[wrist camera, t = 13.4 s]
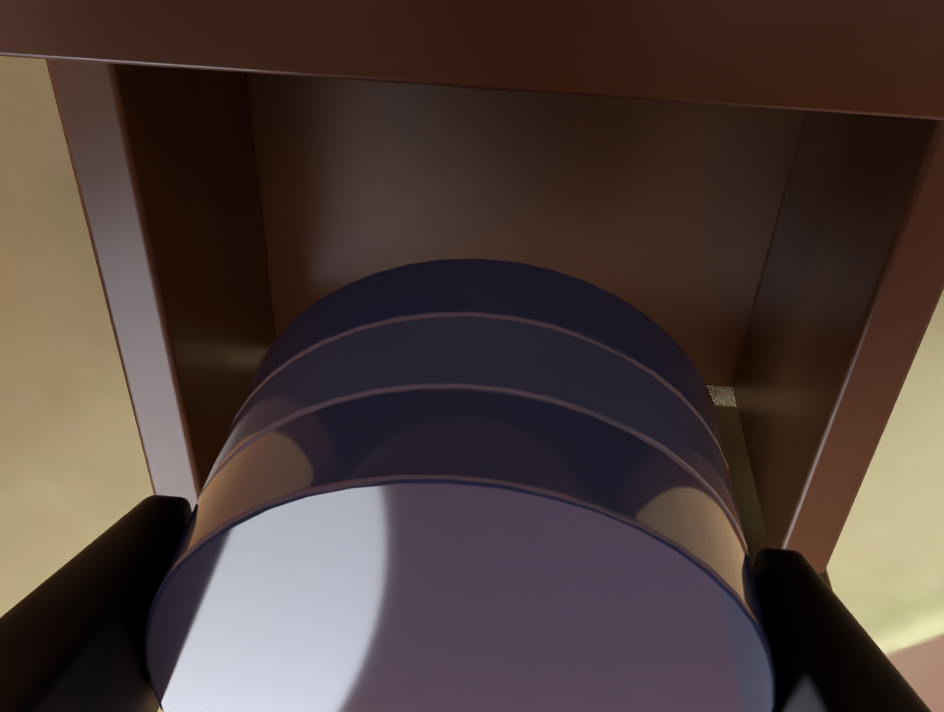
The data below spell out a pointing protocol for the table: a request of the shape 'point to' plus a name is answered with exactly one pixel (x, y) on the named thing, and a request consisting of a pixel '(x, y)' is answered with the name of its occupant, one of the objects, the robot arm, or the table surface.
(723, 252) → the drawer
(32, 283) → the table surface
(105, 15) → the cabinet
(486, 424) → the blue short cylinder
